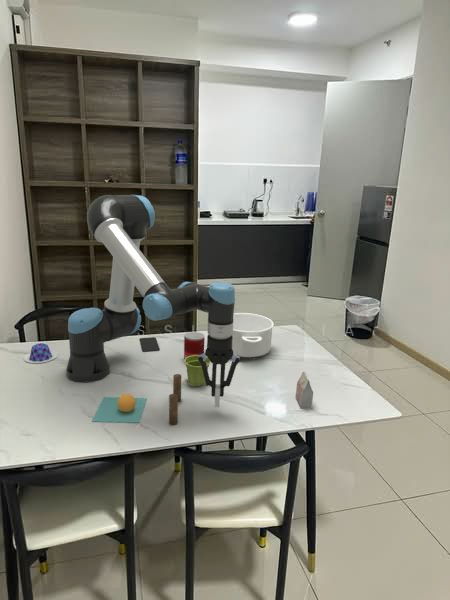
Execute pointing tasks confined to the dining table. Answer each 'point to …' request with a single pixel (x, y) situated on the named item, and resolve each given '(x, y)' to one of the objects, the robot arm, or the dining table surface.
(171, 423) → the post near
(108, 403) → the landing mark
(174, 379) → the post far
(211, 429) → the dining table surface
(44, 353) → the pudding
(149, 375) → the dining table surface
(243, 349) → the pot
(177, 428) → the dining table surface
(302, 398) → the white red carton
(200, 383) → the plant pot
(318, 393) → the dining table surface
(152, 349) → the phone
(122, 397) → the ball
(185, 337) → the canned food
